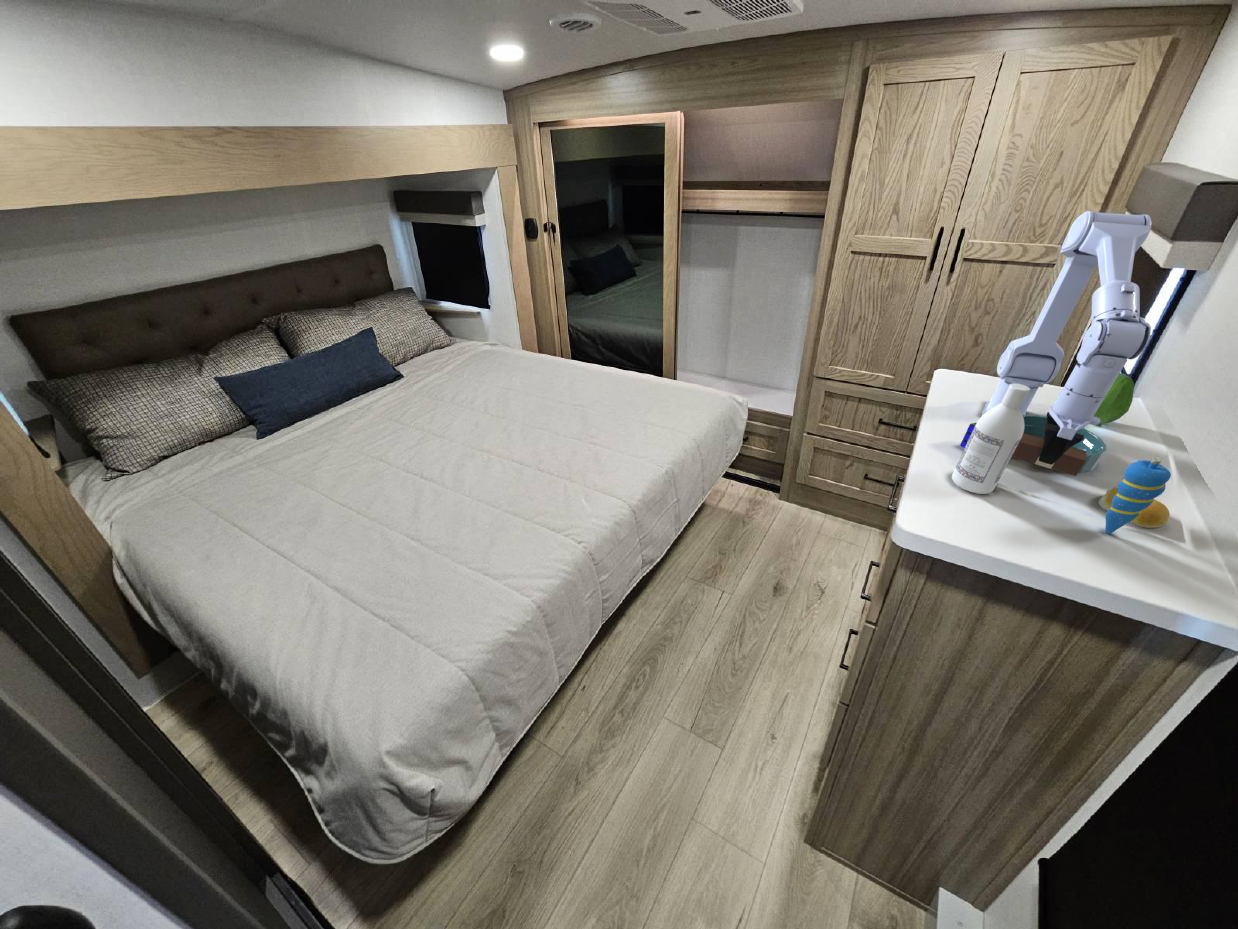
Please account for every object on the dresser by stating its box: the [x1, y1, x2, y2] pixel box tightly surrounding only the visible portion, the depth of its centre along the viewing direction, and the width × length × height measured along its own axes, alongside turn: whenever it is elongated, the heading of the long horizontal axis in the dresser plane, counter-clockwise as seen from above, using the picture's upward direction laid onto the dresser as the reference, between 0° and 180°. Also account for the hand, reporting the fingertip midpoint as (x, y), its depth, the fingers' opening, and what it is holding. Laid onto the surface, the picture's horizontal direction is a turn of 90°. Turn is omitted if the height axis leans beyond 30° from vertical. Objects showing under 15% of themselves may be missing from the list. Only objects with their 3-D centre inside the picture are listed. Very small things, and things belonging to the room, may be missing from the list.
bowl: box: [1023, 414, 1107, 474], centre depth 105 cm, size 16×16×4 cm
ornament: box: [1104, 455, 1172, 535], centre depth 81 cm, size 5×5×15 cm
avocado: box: [1094, 372, 1135, 425], centre depth 115 cm, size 8×8×12 cm
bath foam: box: [951, 383, 1030, 495], centre depth 91 cm, size 7×7×20 cm
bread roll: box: [1098, 486, 1171, 529], centre depth 89 cm, size 8×9×4 cm
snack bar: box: [1011, 434, 1087, 477], centre depth 95 cm, size 10×4×3 cm, turn 52°
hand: (1046, 456), depth 95 cm, fingers closed on snack bar, 4 cm apart
